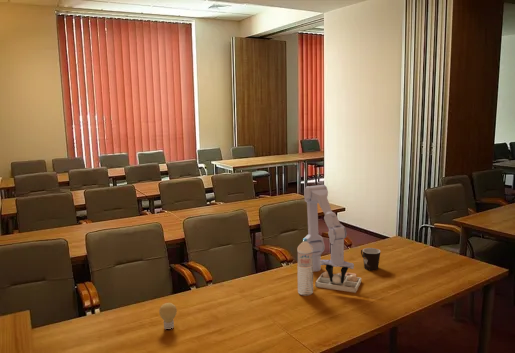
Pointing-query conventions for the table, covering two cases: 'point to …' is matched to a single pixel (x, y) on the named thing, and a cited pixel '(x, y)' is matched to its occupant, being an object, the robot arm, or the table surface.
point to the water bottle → (305, 268)
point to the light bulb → (168, 314)
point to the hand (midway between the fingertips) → (337, 281)
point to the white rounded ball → (336, 278)
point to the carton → (349, 280)
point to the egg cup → (349, 274)
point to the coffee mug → (371, 258)
